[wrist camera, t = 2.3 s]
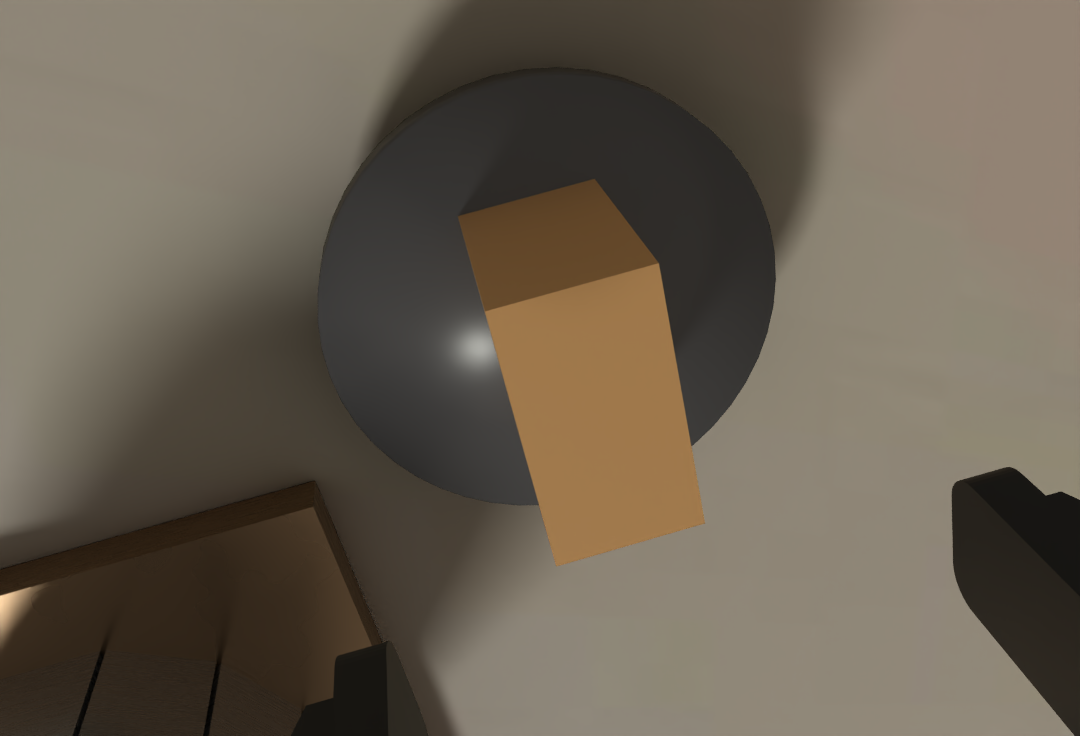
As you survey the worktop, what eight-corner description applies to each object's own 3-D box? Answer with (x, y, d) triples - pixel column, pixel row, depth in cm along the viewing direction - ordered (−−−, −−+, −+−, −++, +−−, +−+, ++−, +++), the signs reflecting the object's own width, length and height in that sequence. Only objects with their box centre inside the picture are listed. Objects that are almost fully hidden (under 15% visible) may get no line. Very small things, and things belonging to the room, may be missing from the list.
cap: (256, 123, 21) (210, 237, 15) (708, 2, 22) (860, 61, 15) (394, 496, 26) (406, 706, 20) (759, 392, 27) (890, 563, 20)
